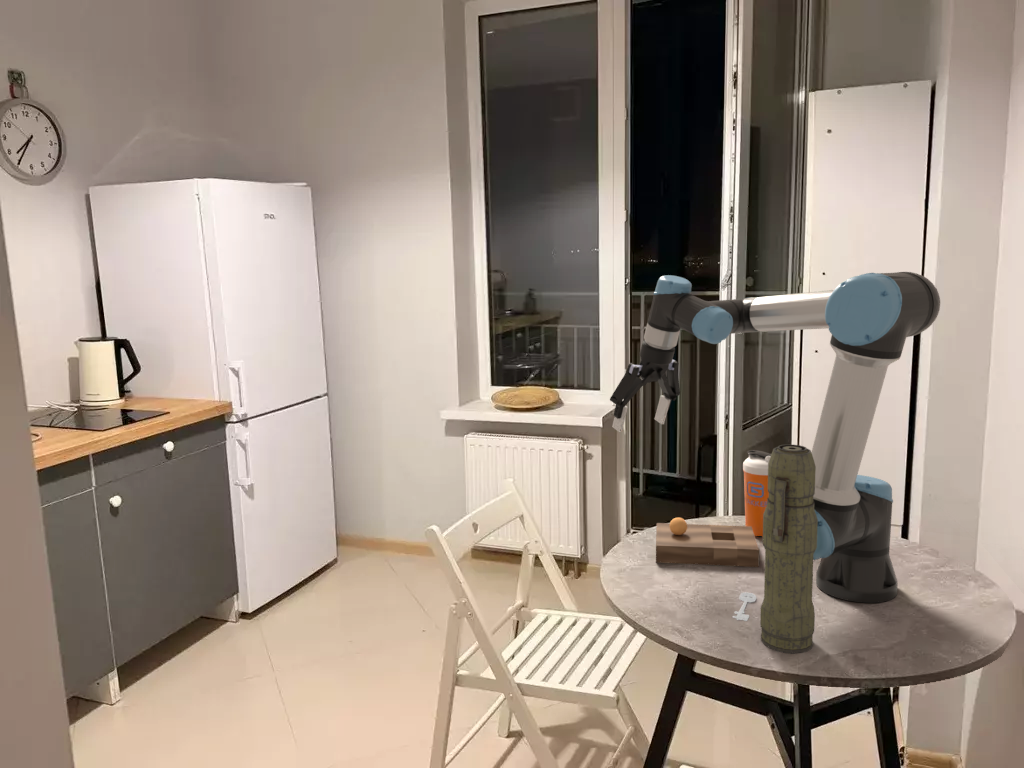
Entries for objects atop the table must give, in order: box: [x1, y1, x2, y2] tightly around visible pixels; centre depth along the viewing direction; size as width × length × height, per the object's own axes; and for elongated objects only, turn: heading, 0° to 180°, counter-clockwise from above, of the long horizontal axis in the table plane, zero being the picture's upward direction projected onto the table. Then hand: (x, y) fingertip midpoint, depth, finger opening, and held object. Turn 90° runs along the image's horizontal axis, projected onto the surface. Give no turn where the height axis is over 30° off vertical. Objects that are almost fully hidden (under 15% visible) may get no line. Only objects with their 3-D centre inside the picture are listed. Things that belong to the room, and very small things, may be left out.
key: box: [732, 591, 757, 622], centre depth 152 cm, size 12×1×3 cm
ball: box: [669, 517, 688, 535], centre depth 180 cm, size 4×4×4 cm
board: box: [655, 522, 760, 568], centre depth 180 cm, size 15×22×4 cm
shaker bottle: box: [742, 449, 772, 538], centre depth 191 cm, size 9×9×20 cm
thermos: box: [759, 444, 818, 654], centre depth 135 cm, size 9×12×35 cm
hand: (638, 425), depth 187 cm, fingers open, 13 cm apart
